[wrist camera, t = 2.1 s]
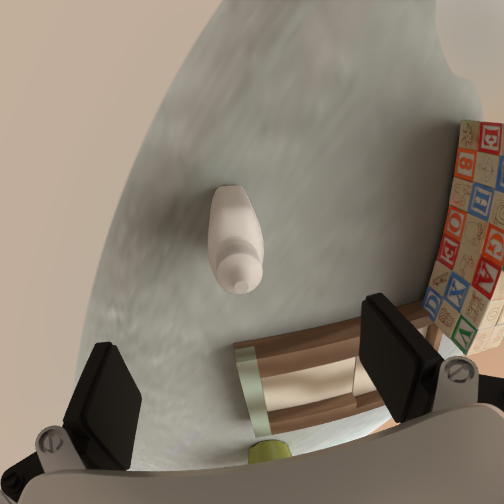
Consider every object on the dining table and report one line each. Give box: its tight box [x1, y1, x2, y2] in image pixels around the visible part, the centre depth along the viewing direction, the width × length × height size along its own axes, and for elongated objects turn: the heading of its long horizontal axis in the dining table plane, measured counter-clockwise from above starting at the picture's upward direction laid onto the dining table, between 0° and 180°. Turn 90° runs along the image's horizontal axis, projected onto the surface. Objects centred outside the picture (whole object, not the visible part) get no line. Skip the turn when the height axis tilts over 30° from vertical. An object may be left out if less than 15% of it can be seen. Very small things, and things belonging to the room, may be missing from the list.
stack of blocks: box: [421, 120, 504, 356], centre depth 21 cm, size 21×6×12 cm, turn 175°
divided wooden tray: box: [234, 299, 443, 437], centre depth 32 cm, size 14×24×3 cm, turn 98°
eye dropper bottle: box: [208, 185, 264, 294], centre depth 20 cm, size 4×6×12 cm
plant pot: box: [248, 440, 292, 464], centre depth 35 cm, size 9×9×9 cm
